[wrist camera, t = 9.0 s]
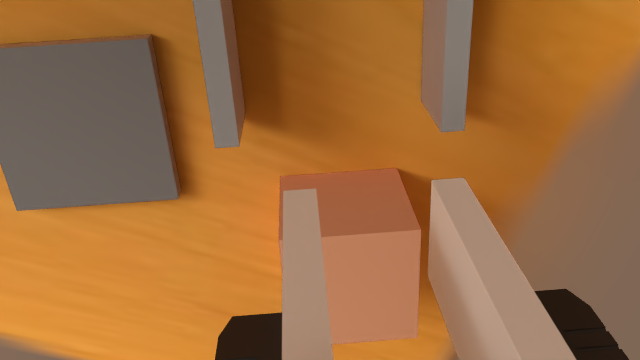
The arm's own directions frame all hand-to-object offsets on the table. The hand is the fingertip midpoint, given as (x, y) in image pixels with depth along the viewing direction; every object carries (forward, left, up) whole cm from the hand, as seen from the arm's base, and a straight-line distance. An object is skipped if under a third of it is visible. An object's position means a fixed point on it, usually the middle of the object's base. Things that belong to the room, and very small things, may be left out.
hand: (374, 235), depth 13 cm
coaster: (-12, -2, -15) cm, 19 cm away
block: (0, -9, -15) cm, 17 cm away
